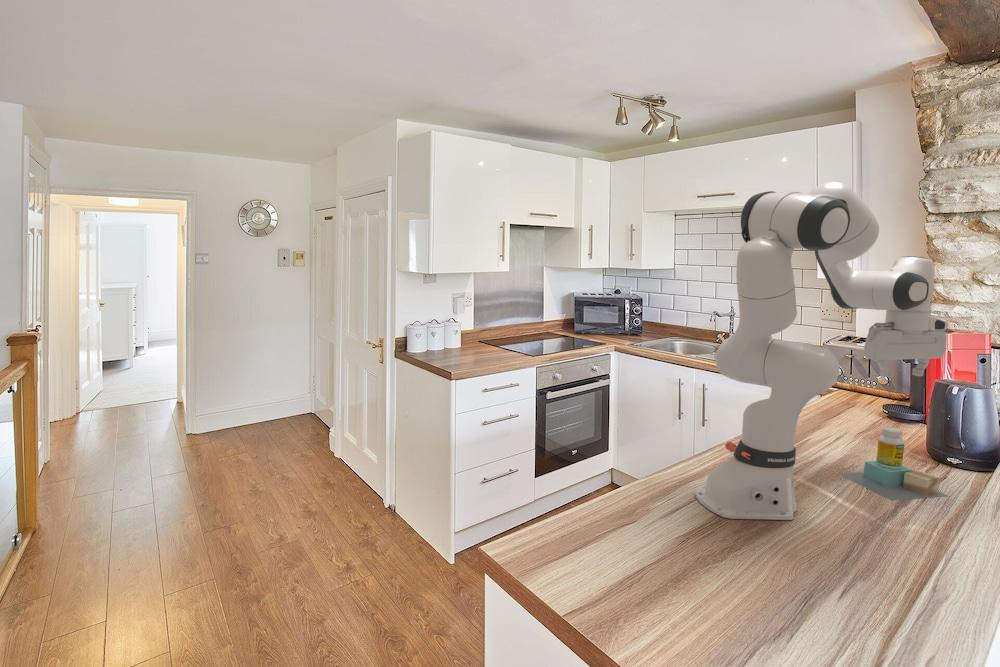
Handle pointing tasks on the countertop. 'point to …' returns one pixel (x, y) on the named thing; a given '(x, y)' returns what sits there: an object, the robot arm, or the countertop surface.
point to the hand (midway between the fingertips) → (901, 376)
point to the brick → (921, 482)
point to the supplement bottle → (890, 448)
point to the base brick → (885, 474)
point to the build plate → (887, 488)
